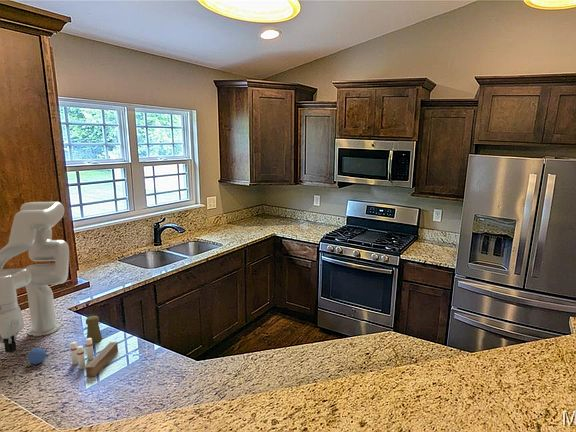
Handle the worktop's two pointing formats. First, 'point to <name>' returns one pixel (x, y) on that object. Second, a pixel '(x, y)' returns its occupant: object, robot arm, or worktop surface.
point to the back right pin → (81, 357)
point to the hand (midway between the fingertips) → (10, 351)
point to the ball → (36, 355)
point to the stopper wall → (101, 359)
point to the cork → (93, 329)
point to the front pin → (74, 353)
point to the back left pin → (89, 349)
